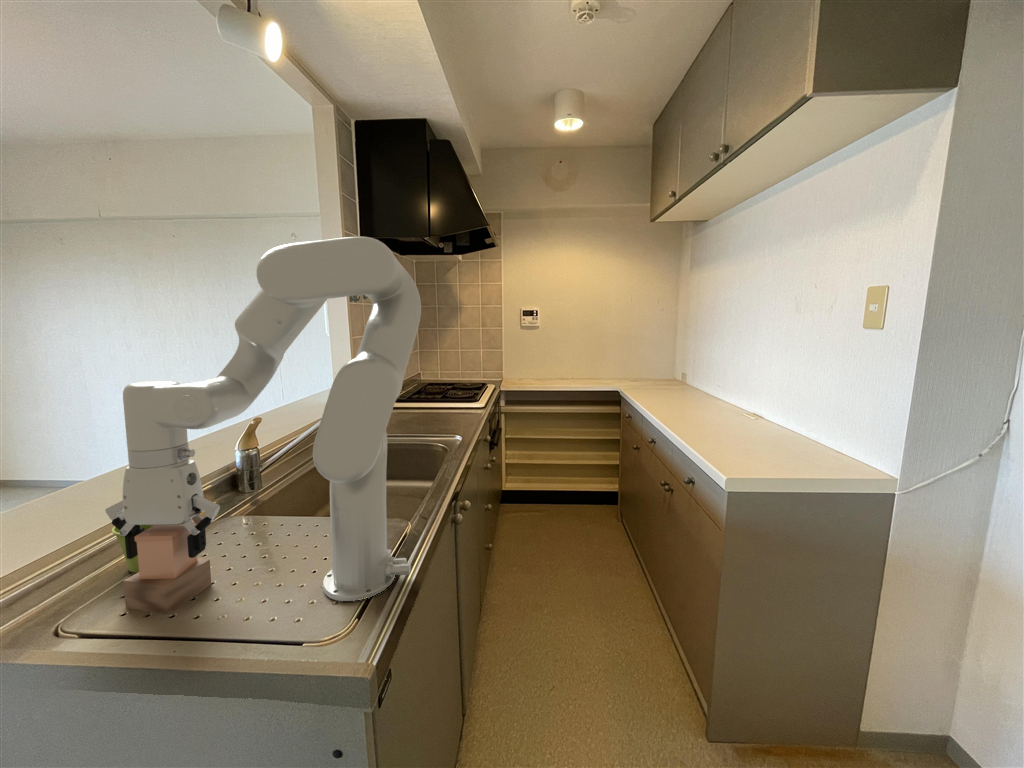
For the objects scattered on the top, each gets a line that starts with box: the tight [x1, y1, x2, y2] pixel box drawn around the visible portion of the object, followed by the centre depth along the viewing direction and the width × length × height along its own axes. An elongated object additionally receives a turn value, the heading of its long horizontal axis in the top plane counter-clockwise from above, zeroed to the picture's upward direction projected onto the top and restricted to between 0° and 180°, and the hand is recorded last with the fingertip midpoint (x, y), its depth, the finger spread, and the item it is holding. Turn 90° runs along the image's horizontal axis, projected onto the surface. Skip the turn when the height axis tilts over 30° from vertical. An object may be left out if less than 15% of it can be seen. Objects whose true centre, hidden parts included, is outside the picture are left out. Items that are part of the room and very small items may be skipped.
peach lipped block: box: [134, 520, 198, 579], centre depth 69 cm, size 6×6×7 cm
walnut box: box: [122, 557, 212, 615], centre depth 70 cm, size 8×8×5 cm
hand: (167, 554), depth 69 cm, fingers open, 9 cm apart
